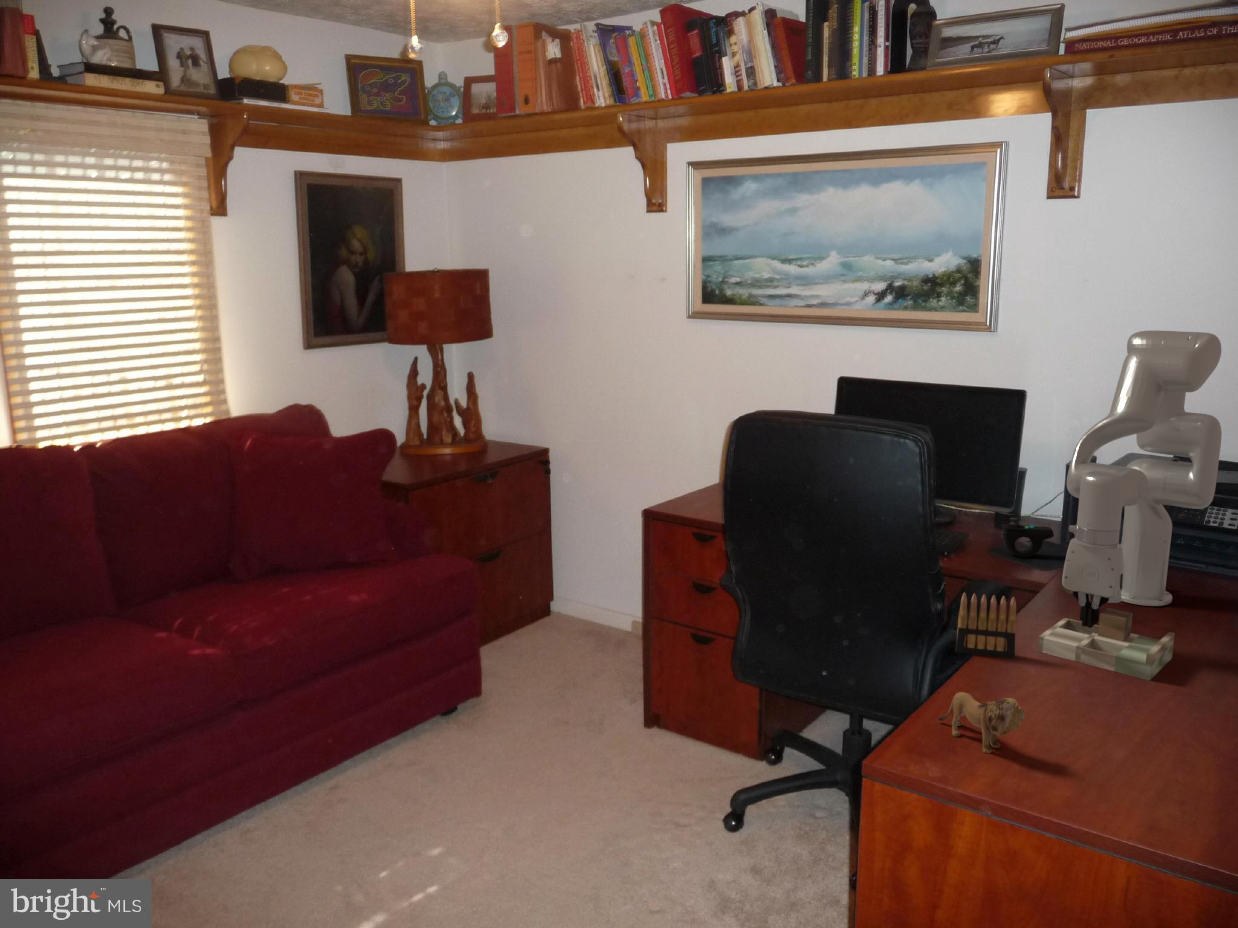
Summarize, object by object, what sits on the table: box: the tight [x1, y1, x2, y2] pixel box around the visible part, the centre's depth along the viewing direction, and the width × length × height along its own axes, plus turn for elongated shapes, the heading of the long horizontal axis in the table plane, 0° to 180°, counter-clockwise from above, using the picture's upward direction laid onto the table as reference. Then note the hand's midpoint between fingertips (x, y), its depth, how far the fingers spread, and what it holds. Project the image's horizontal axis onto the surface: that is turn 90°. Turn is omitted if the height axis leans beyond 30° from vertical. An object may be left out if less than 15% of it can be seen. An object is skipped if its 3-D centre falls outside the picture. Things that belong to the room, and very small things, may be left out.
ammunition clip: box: [954, 592, 1017, 659], centre depth 186 cm, size 11×2×12 cm, turn 73°
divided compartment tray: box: [1036, 617, 1176, 682], centre depth 186 cm, size 14×20×5 cm
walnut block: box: [1098, 607, 1134, 642], centre depth 187 cm, size 4×4×4 cm
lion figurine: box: [937, 691, 1026, 754], centre depth 152 cm, size 15×5×9 cm, turn 35°
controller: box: [1000, 516, 1055, 558], centre depth 248 cm, size 4×12×10 cm, turn 76°
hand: (1088, 624), depth 191 cm, fingers closed
